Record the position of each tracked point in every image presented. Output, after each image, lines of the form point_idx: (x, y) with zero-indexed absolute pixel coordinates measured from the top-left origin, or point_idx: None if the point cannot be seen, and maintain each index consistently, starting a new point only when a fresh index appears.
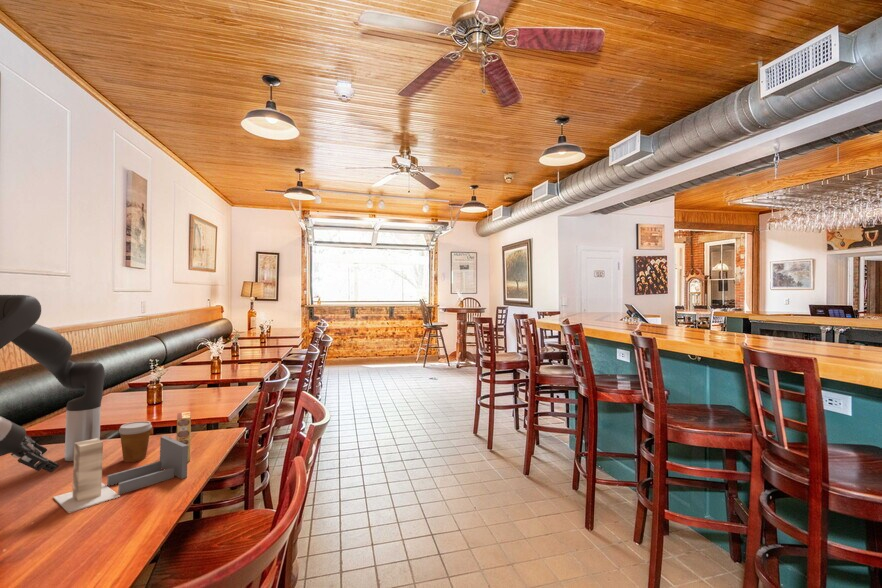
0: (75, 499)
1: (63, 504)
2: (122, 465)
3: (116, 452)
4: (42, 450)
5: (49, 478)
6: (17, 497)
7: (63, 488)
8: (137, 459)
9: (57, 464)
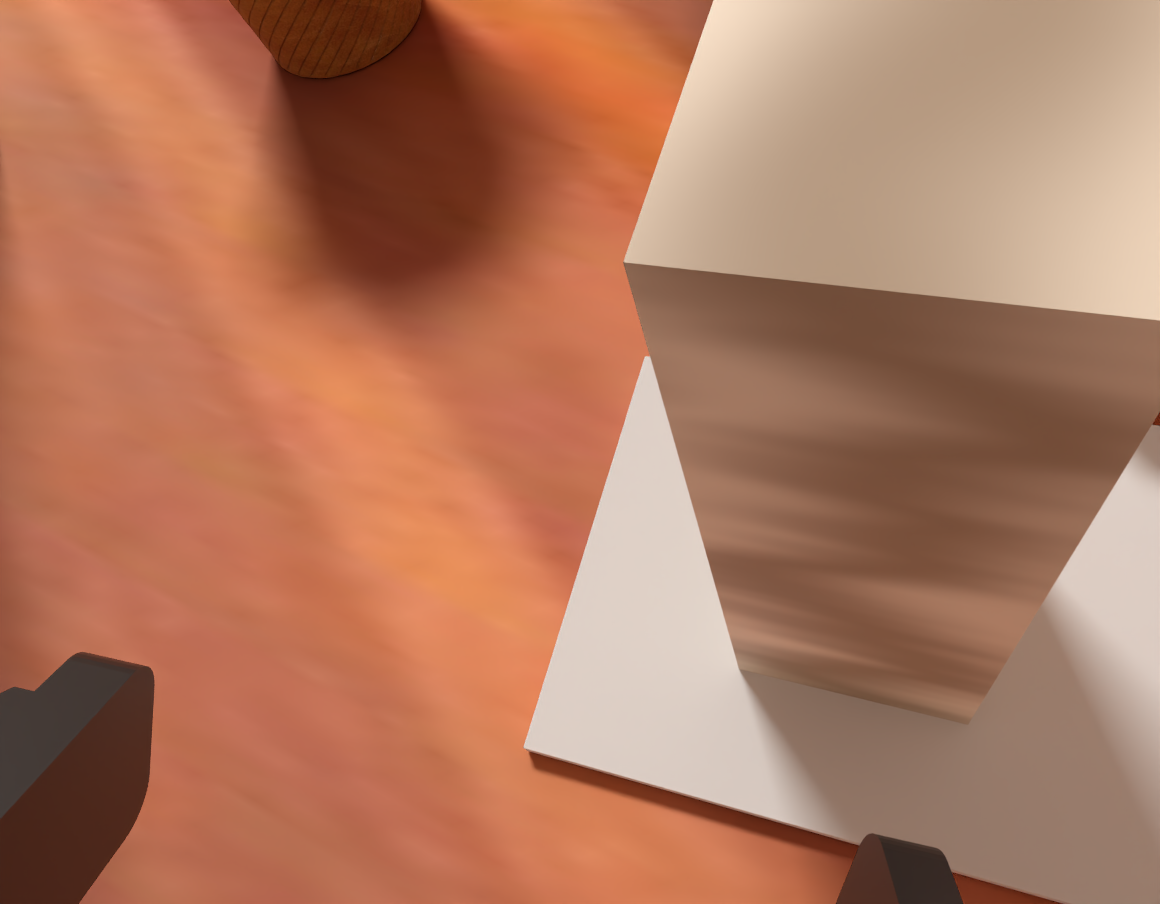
0: (859, 696)
1: (873, 829)
2: (378, 113)
3: (81, 39)
4: (101, 759)
5: (19, 503)
6: (130, 884)
7: (369, 569)
8: (409, 14)
9: (949, 878)
